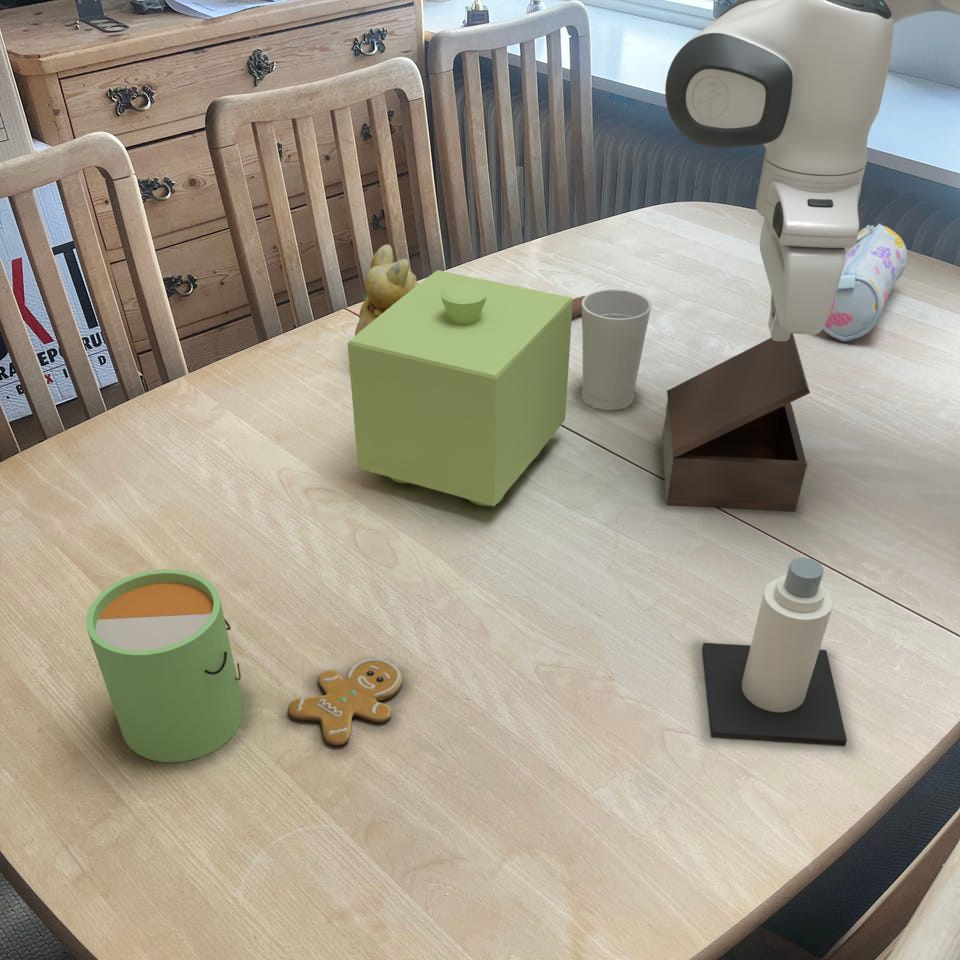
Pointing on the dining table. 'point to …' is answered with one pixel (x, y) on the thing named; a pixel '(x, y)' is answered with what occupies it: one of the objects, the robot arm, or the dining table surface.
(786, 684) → the bottle
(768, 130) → the robot arm
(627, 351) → the cup
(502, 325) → the container
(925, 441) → the dining table surface
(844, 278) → the pencil case
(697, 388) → the chest lid
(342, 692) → the cookie
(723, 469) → the chest
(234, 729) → the mug
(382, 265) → the decorative figurine
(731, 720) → the mat
